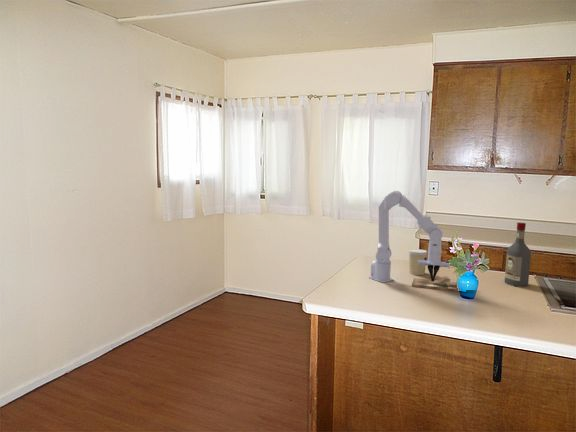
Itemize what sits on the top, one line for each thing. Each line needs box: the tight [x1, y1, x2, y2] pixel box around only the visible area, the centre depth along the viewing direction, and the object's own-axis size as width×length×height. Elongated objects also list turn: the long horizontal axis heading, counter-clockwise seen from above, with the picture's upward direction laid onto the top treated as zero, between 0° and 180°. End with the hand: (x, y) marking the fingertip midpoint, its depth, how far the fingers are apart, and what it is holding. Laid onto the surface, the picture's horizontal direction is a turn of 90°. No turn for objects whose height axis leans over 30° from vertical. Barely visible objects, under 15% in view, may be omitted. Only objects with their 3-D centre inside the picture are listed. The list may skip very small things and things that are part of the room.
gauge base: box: [411, 277, 459, 293], centre depth 207 cm, size 24×12×5 cm, turn 69°
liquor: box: [504, 222, 532, 287], centre depth 211 cm, size 9×9×30 cm
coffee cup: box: [408, 248, 428, 276], centre depth 230 cm, size 9×9×12 cm
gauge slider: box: [440, 275, 451, 286], centre depth 205 cm, size 4×8×3 cm, turn 159°
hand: (432, 280), depth 208 cm, fingers closed
